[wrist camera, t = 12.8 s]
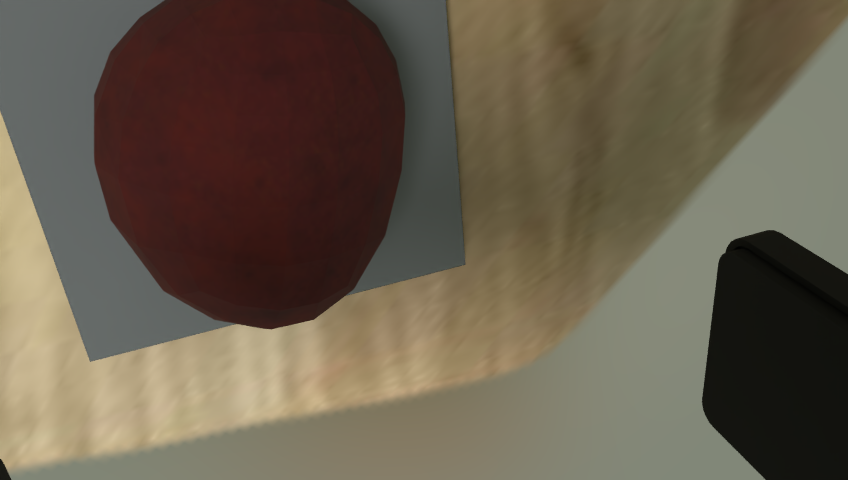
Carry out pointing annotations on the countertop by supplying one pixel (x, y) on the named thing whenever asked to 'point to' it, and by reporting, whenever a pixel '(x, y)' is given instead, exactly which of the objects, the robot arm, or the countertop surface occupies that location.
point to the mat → (83, 198)
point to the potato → (251, 152)
